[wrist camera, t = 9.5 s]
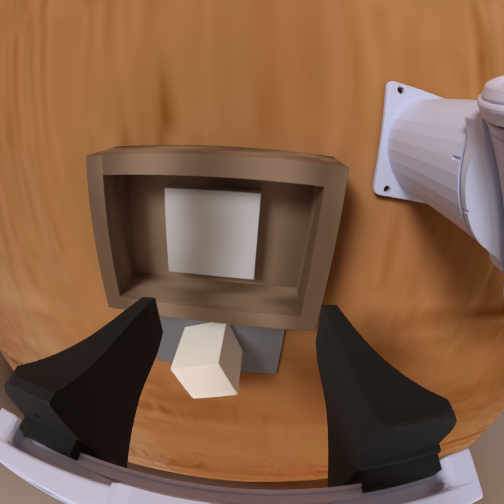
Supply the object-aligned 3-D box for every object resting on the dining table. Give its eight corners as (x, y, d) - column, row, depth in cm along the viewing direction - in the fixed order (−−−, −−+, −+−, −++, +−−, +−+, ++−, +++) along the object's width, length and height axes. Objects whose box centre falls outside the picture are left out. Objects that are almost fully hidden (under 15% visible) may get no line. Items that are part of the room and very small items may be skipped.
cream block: (227, 319, 24) (218, 363, 19) (242, 351, 25) (237, 394, 21) (185, 327, 24) (170, 369, 20) (203, 357, 26) (193, 398, 22)
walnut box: (333, 157, 18) (348, 168, 14) (309, 297, 23) (314, 330, 19) (116, 146, 18) (86, 156, 14) (129, 278, 23) (108, 306, 19)
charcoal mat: (287, 310, 23) (288, 312, 23) (276, 372, 27) (275, 374, 27) (147, 295, 24) (145, 297, 23) (158, 357, 27) (157, 359, 27)
